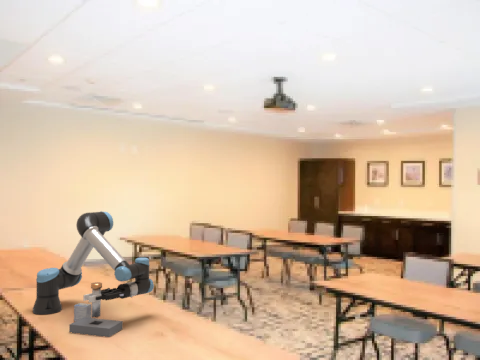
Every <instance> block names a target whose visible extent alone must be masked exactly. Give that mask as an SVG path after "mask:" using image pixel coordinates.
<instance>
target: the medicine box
mask: <svg viewBox="0 0 480 360" xmlns="http://www.w3.org/2000/svg"><path fill="white" fill-rule="evenodd" d="M84 317H86V318H92V303H84V302H83V303H81V302H79V303H76V304H75V305H73V321H74V322H76V321H78V320H80V319H82V318H84Z"/></svg>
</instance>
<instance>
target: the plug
mask: <svg viewBox="0 0 480 360" xmlns="http://www.w3.org/2000/svg"><path fill="white" fill-rule="evenodd" d="M90 283H91V282H90ZM102 288H103V282H92V283H91V284H90V289H91V293H92V296H95V295H99V294H101V290H102ZM101 302H102V299H101V300H99V301H94V302H91V318H99V317H101Z"/></svg>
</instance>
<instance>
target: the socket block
mask: <svg viewBox="0 0 480 360" xmlns="http://www.w3.org/2000/svg"><path fill="white" fill-rule="evenodd" d="M123 324H124V323H123V320H114V319H106V318H105V319H104V318H97V317H91V318H86V317H84V318H82V319H80V320H78V321H74V322H71V323H70V324H69V325H68V326H69V330H68V331H69V332H72V333H71V334H76V333H80V334H79V335H85V334H88V335H87V336H94V335H96V337H103V336H105V338H111V337H112V336H114V335H116V333H118V332H120V331H123Z"/></svg>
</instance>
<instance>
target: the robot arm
mask: <svg viewBox="0 0 480 360" xmlns="http://www.w3.org/2000/svg"><path fill="white" fill-rule="evenodd" d="M113 227H114V218H113V216H112V215H111V213H109V212H108V211H102V210H101V211H92V212H85V213H82V214H81V215H80V216H79V217H78V219H77V221H76V230H77V232H78V235H80V237H81V238H80V240H79V241H78V243H77V244H76V246H75V248H74V250H72V253H71V255H70V256H69V258H68V260H67V261H64V262H63V264H62V265H61V267H60V268H58V267H50V268H43V269H41V270H39V271H38V272H37V274H36V279H35V280H36V294H35V295H36V298H35V302H34V304H33V307H32V313H33V314H35V315H52V314H56V313H59V312H61V311H62V309H63V308H62V307H63V305H62V303H61V300H60V295H59V293H60V290H64V289H67V288H72V287H74V286H76V285H77V286H78V284H79V283H80V282H81V281H82V278H83V270H82V267H83V265H84V263H85V262H86V260H87V258H88V257H89V255H90V254H91V252H92V251H93V248H94V249H95V250H96V251H97V253H99V255H100V256H101V257H102V258H103V259H104V260H105V261H106V263H107V264H108V265H109V266H110V267H111V268H112V269H113V270H114V277H115V280H117V281H118V282H124V283H120V284H118V285H117V287H113V288H110V287H107V288H104V289H101V294H99V295H95V296H92V292H91V293H87V294H83V297H82V298H83V302H85V301H88V304H91V303H92V302H94V301H99V300H101V301H110V300H115V299H127V298H133V297H134V296H140V295H147V294H148V293H151V292H153V290H154V287H155V284H154V281H153V280H152V279H151V278H150V265H151V264H150V259H149V258H148V257H137V258H135V260H134V261H135V262H134V263H129V262H128V261H127V260H126V259H125V258H124V257H123V256H122V254H120V252H119V251H118V250H117V249H116V248H115V247H114V246H113V245H112V244H111V243H110V241H109V240H108V239H107V238H106V237H105V236H104V235H105V233H106V232H110V231H112V229H113ZM132 279H134V281H130V280H132ZM128 281H129V282H128Z"/></svg>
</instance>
